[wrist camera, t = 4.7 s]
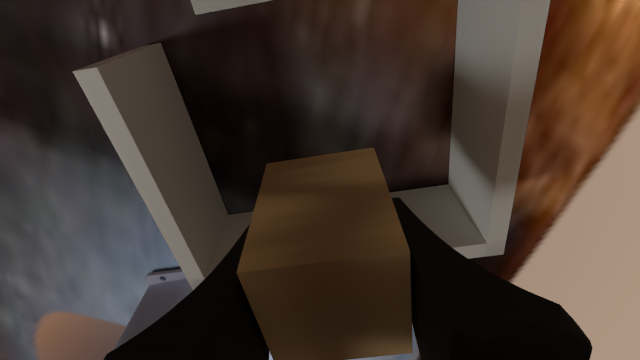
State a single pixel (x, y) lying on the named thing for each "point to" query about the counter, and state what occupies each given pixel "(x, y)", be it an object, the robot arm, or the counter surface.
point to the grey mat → (219, 4)
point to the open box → (426, 203)
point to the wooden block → (328, 260)
